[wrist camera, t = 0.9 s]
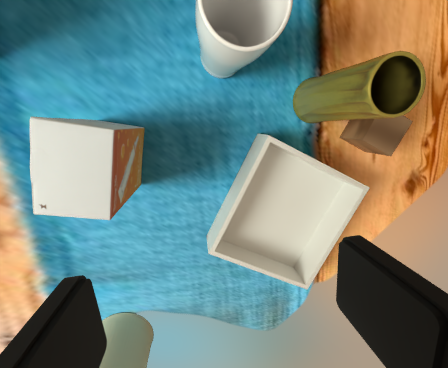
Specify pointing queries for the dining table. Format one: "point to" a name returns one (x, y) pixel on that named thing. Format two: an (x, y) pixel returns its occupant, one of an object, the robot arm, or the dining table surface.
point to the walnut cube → (376, 134)
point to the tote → (283, 213)
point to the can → (127, 341)
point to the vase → (363, 90)
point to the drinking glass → (237, 31)
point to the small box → (83, 166)
